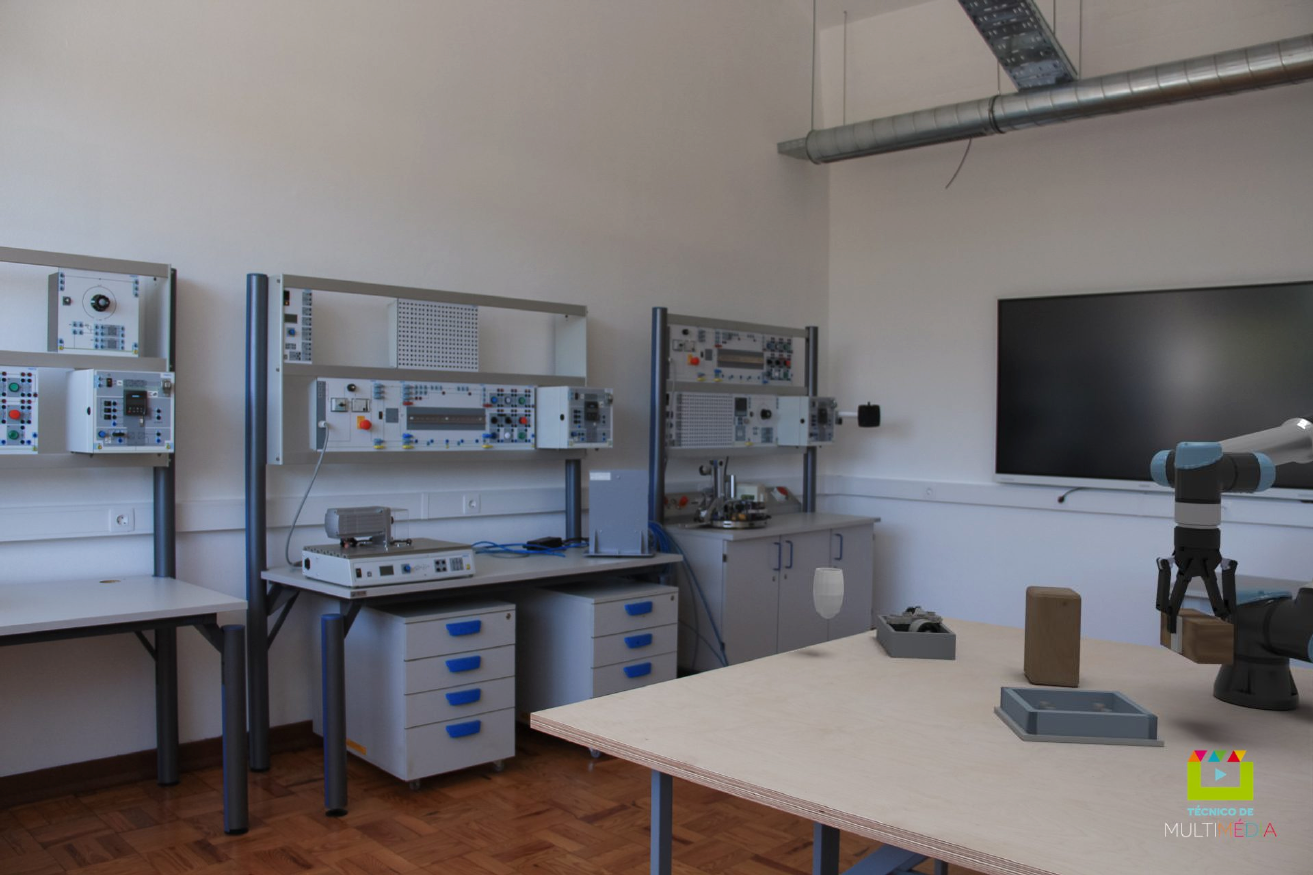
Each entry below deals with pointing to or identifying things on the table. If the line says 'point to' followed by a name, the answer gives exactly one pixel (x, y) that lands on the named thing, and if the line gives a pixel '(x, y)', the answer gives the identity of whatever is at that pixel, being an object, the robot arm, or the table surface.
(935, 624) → the camera
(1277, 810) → the table surface
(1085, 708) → the peg frame
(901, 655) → the camera corral
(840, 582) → the cup
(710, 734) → the table surface
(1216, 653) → the brown wooden bar
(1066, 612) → the wooden block
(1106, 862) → the table surface
